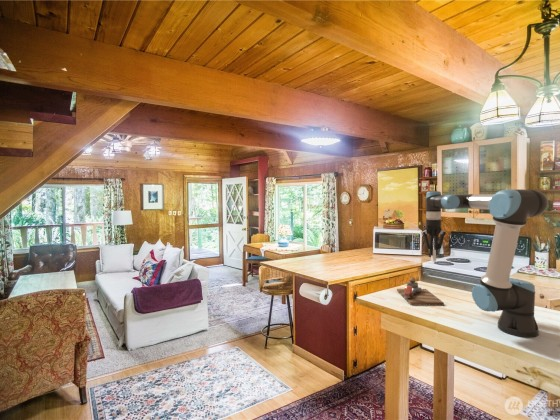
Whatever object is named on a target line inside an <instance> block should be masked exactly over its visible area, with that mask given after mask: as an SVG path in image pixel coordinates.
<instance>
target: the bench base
mask: <svg viewBox="0 0 560 420" xmlns="http://www.w3.org/2000/svg"><path fill="white" fill-rule="evenodd" d="M408 280H409V281H407V282H406V286H412V287H419V283H418V282H417V281H416V277H414V276H411V277H409V279H408ZM396 292H397V293H398V294H399V295H400V296H401V297H402V298H403V300H405V301H406V303H408V304H409V305H410V306H444V305H445V303H444V302H443V301H442V300H441V299H440V298H439V297H437V296H436V295H434V294H433V292H431V291H429V290H428V289H427V288H421V292H420V293H416V294H415V295H413V296H412V297H411V298H407V297H406V296H405V288H397V289H396Z"/></svg>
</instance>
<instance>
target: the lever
mask: <svg viewBox="0 0 560 420" xmlns="http://www.w3.org/2000/svg"><path fill="white" fill-rule="evenodd" d="M404 289H405V296H406V297H407V298H411V297H412V296H413V295H415V294H416V293H420V292H421V289H422V287H419V286H418V287H412V286H407V285H405V286H404Z"/></svg>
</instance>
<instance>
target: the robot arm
mask: <svg viewBox="0 0 560 420" xmlns="http://www.w3.org/2000/svg"><path fill="white" fill-rule="evenodd" d="M548 206H549V200H548V196H547V195H545V194H544V192H542V191H540V190H537V189H531V188H530V189H528V188H527V189H523V188H522V189H516V188H513V189H512V188H509V189H502V190H499V191H496V192H495V193H493V194H492V193H491V194H490V193H488V194H486V193H485V194H484V193H482V194H481V193H479V194H473V193H468V194H449V193H448V194H442V192H441V191H439V190H438V191H436V190H435V191H427V192H426V195H425V209H426V210H425V215H426V216H425V218H426V220H425V221H426V222H425V225H426V227H425V230H423V231H421V235H422V237H423V240H424V244H425V248H426V249H429V255H430V256H431V257H430V260H431V262H433V263H436V262H437V256H438V252H439V250H440V249H442V246H443V241H444V238H445V236H446V235H447V231H445V230H443V229H442V220H441V219H442V210H457V209H458V210H459V209H461V210H462V209H463V210H464V209H469V210H470V209H471V210H473V209H474V210H489V213H490V215H491V216H492V221H493V222H494V224H495V226H494V227H495V228H494V232H493V236H492V237H493V238H492V242H491V247H490V252H489V257H488V262H487V266H486V271H485V274H484V275H482V276H481V277H480V281H479V284H478V283H477V284H475V286H473V287H472V289H471V297H472V299H473V301H474V303H475V305H476V306H477V307H478V308H479V309H480V310H481V311H483V312H492V313H493V312H494V313H495V312H500V311H502V312H501V314H500V316H499V318H498V319H497V328H498V329H499V330H500V331H502V332H503V333H506V334H508V335H511V336H517V337H520V338H521V337H522V338H535V337H538V336H539V334H540V333H539V332H540V331H539V327H538V323H537V320H536V317H535V305H536V304H535V303H536V301H535V300H536V288H535V287H536V286H535V285H534V283H533V282H530V281H527V280H525V279H518V278H514V277H513V278H511V276H510V275H511V272H512V268H513V263H514V259H515V253H516V250H517V245H518V241H519V237H520V231H521V228H523V227H525V226H526V225H527V220H528V219H529V218H535V217H538V216H540V215H543V213H545V211H546V210H547V209H548ZM427 234H428V235H427Z"/></svg>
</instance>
